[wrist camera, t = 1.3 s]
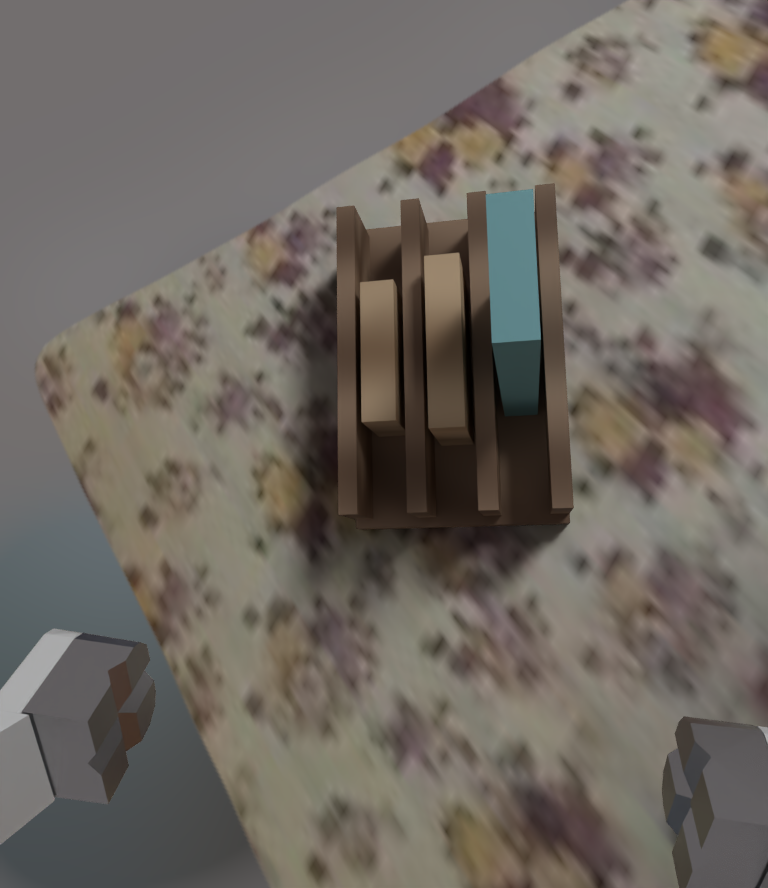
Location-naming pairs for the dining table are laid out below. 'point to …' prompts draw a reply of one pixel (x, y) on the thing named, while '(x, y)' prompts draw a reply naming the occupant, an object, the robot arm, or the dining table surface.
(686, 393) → the dining table surface
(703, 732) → the robot arm
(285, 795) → the dining table surface
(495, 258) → the tall teal board
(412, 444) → the walnut board rack
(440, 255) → the short oak offcut
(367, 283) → the small oak offcut
